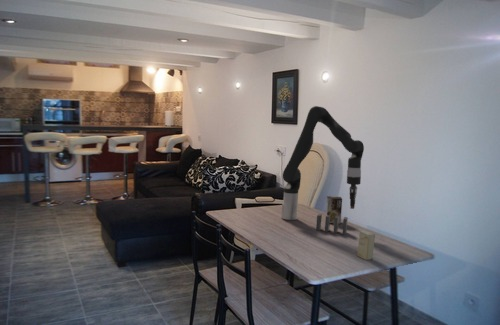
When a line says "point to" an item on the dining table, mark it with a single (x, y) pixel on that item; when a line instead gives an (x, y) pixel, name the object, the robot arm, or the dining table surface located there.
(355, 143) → the robot arm
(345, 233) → the domino
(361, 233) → the skincare box
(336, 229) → the domino
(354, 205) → the domino
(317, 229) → the domino
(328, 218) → the domino
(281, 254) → the dining table surface
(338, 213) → the coffee box
